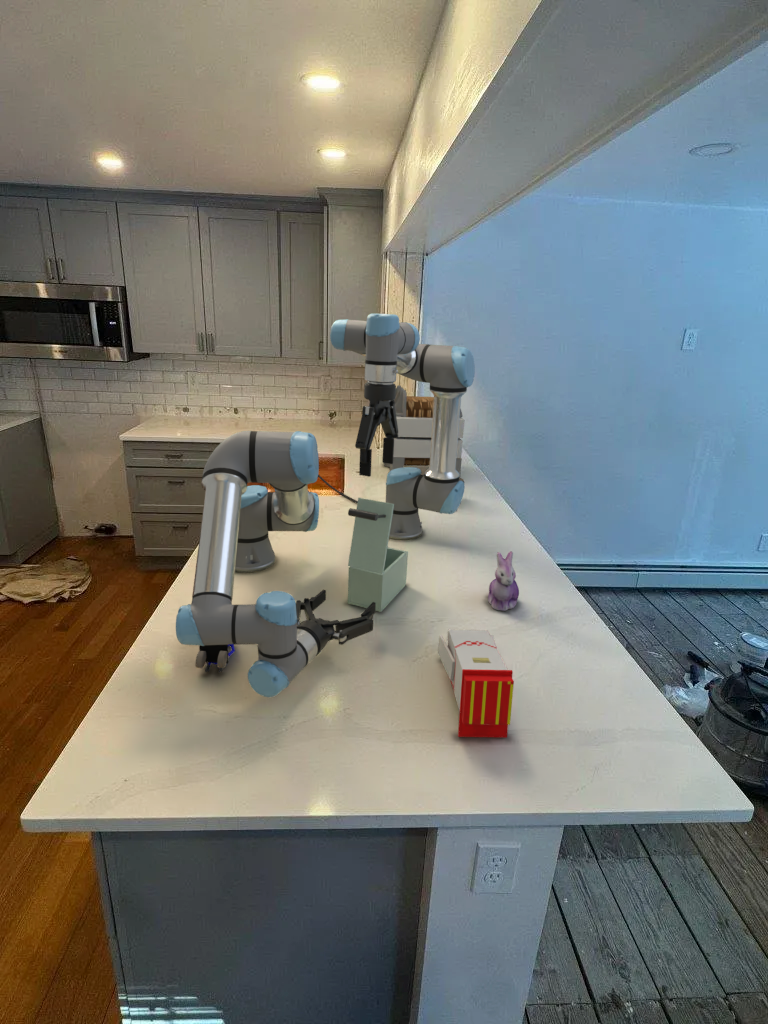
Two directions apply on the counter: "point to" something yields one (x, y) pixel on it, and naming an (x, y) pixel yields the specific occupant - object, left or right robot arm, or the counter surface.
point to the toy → (478, 682)
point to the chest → (378, 581)
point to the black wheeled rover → (214, 656)
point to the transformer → (417, 431)
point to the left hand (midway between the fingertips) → (348, 600)
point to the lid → (370, 534)
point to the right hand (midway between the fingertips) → (376, 469)
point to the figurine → (503, 584)
